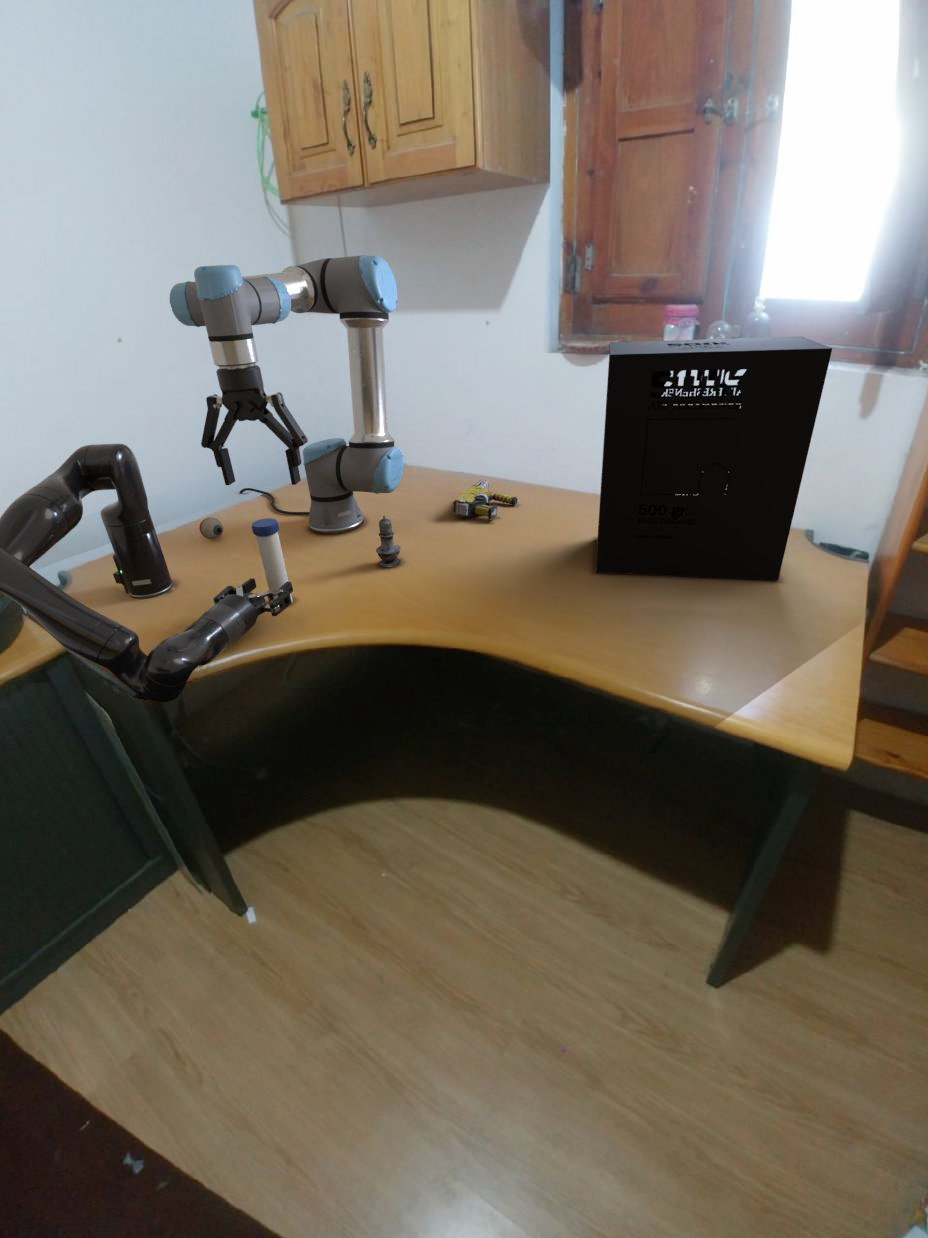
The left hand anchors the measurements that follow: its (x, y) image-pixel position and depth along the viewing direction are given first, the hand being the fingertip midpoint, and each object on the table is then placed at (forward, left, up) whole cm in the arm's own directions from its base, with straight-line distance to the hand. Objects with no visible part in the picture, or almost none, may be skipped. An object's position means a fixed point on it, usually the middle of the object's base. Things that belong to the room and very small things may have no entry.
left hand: (272, 583), depth 125 cm
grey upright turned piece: (+16, +25, -6) cm, 30 cm away
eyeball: (-39, +32, -6) cm, 50 cm away
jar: (0, +2, -6) cm, 6 cm away
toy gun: (+30, +67, -6) cm, 74 cm away
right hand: (+1, +3, +21) cm, 21 cm away
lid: (0, +2, +12) cm, 13 cm away
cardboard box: (+82, +40, -6) cm, 91 cm away
